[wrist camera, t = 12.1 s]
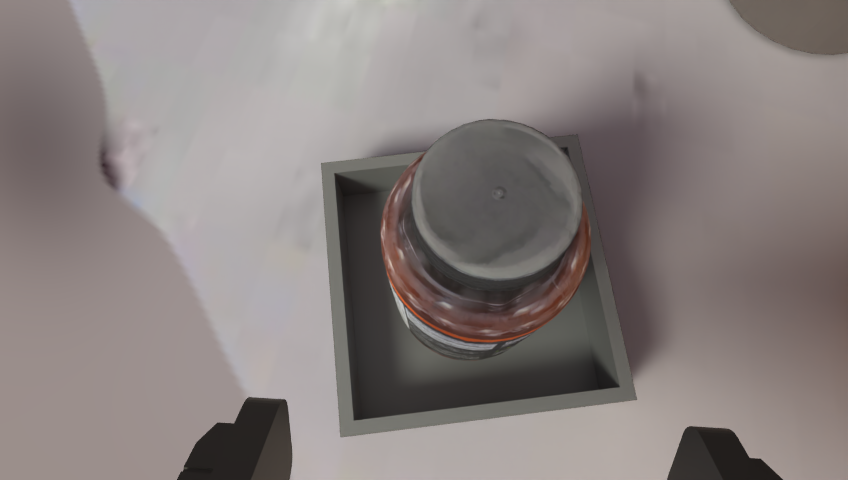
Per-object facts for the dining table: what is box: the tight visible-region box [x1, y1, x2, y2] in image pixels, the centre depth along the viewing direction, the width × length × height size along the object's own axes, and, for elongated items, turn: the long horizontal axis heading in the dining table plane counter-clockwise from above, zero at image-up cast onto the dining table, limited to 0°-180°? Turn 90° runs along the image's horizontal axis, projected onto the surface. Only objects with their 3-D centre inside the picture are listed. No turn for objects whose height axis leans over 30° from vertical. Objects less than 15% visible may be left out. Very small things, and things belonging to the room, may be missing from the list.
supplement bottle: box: [380, 119, 591, 361], centre depth 18 cm, size 6×6×11 cm
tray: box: [321, 135, 637, 437], centre depth 22 cm, size 11×11×3 cm
